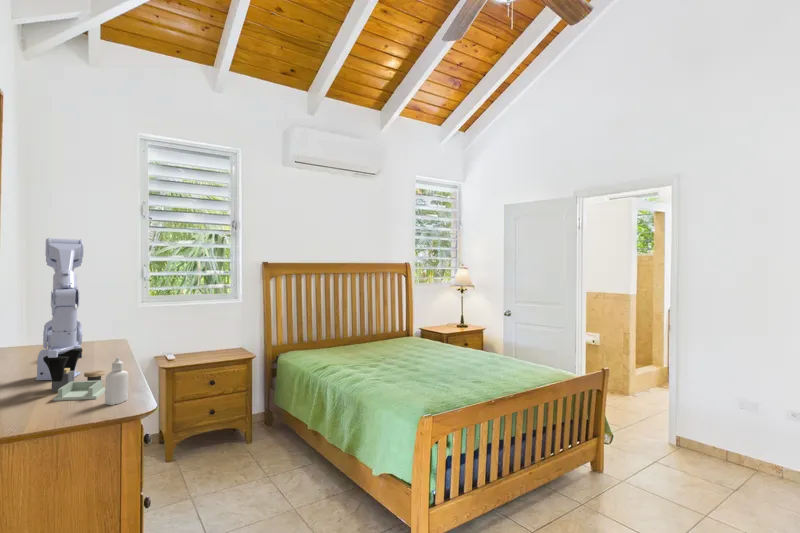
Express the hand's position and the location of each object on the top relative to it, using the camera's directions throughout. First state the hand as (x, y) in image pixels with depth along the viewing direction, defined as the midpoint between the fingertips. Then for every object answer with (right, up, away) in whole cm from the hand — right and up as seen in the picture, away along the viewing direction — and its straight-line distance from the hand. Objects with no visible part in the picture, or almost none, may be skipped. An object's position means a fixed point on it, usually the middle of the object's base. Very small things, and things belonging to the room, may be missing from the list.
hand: (63, 377), depth 130 cm
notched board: (+8, -4, -5) cm, 10 cm away
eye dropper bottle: (+21, -4, -9) cm, 24 cm away
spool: (+6, -4, +4) cm, 8 cm away
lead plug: (0, -4, 0) cm, 4 cm away
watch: (-26, -2, +40) cm, 47 cm away
